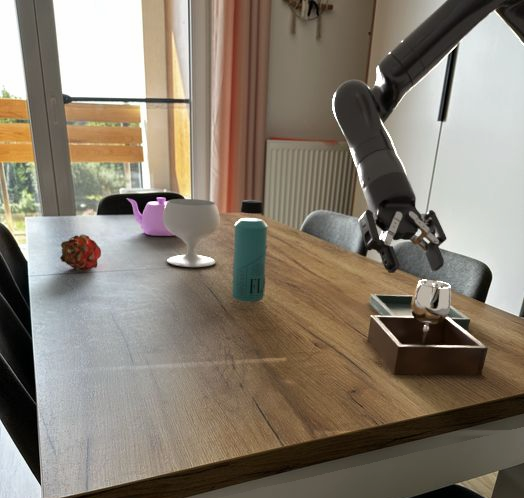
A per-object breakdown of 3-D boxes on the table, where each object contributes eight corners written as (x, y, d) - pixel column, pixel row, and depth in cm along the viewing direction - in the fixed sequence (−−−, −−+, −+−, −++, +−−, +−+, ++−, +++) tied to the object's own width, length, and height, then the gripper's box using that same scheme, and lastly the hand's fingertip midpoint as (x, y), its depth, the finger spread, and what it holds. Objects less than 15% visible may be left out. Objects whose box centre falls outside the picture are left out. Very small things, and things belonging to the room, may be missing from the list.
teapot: (128, 228, 169) (127, 193, 164) (190, 230, 172) (190, 196, 168) (126, 236, 157) (124, 199, 152) (192, 238, 160) (192, 201, 156)
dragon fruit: (74, 282, 114) (83, 276, 126) (105, 260, 114) (112, 256, 125) (48, 250, 112) (60, 247, 123) (80, 228, 111) (89, 226, 123)
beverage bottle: (248, 311, 98) (253, 203, 90) (224, 303, 102) (227, 198, 94) (270, 305, 102) (277, 201, 95) (246, 297, 106) (251, 197, 99)
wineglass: (399, 359, 81) (412, 285, 76) (404, 347, 86) (416, 277, 81) (437, 366, 79) (453, 291, 74) (440, 353, 84) (455, 282, 79)
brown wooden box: (443, 341, 89) (448, 316, 87) (481, 375, 77) (488, 347, 75) (367, 340, 88) (370, 315, 86) (393, 374, 75) (398, 346, 73)
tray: (436, 305, 109) (438, 295, 108) (468, 330, 95) (470, 319, 95) (369, 303, 107) (370, 294, 106) (392, 328, 94) (394, 317, 93)
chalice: (164, 269, 123) (163, 205, 117) (162, 256, 136) (161, 197, 130) (222, 269, 126) (224, 207, 120) (215, 256, 139) (216, 199, 133)
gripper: (359, 168, 80) (392, 258, 75) (432, 171, 85) (467, 255, 80) (338, 199, 87) (367, 283, 81) (407, 200, 92) (438, 279, 87)
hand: (416, 269), depth 81 cm, fingers open, 8 cm apart
